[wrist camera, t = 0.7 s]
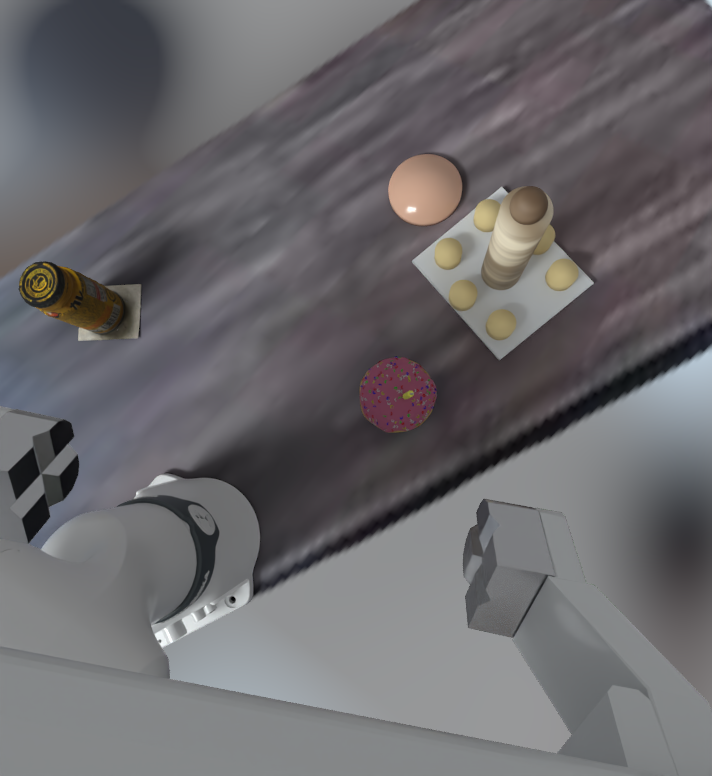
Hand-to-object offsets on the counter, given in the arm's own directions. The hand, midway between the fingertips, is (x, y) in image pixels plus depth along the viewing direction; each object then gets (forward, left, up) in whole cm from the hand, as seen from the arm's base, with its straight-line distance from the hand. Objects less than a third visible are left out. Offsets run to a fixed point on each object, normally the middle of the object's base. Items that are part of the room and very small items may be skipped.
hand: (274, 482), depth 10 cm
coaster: (+23, +23, -52) cm, 62 cm away
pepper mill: (+23, +9, -52) cm, 57 cm away
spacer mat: (+23, +9, -52) cm, 58 cm away
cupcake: (+4, +5, -53) cm, 53 cm away
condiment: (-18, +38, -53) cm, 67 cm away
